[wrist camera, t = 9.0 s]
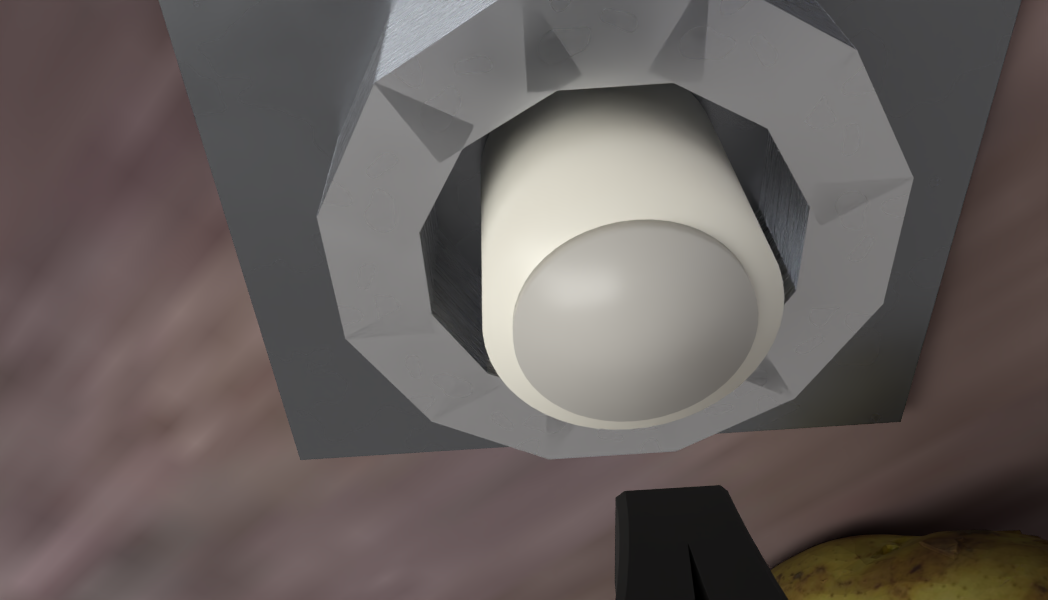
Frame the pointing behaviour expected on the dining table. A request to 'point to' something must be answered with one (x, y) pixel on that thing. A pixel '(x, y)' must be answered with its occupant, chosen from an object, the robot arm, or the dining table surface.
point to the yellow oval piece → (920, 568)
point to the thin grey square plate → (517, 84)
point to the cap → (621, 259)
